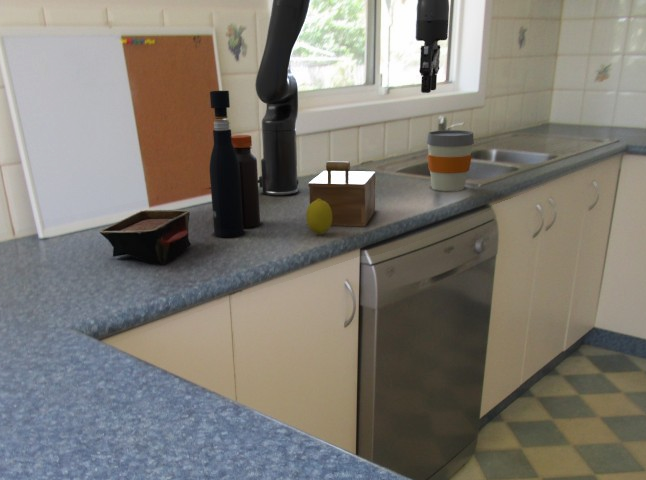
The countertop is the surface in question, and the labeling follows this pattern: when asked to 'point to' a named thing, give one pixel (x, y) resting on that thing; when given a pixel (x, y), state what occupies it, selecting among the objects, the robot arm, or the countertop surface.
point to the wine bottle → (224, 173)
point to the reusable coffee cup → (449, 158)
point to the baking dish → (150, 235)
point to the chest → (347, 203)
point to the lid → (341, 176)
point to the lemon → (319, 216)
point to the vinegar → (248, 180)
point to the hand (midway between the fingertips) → (428, 91)
